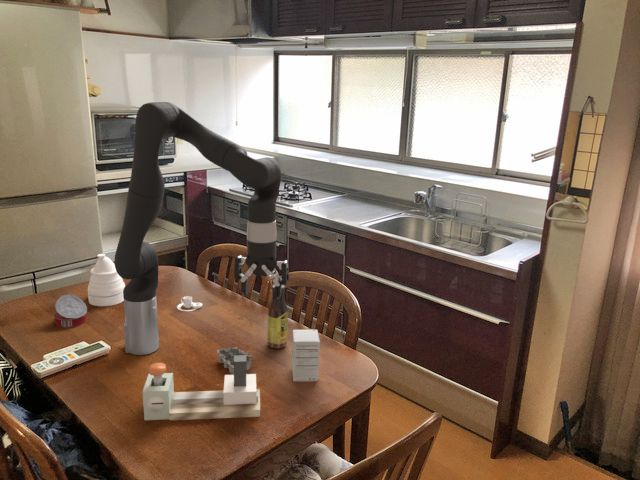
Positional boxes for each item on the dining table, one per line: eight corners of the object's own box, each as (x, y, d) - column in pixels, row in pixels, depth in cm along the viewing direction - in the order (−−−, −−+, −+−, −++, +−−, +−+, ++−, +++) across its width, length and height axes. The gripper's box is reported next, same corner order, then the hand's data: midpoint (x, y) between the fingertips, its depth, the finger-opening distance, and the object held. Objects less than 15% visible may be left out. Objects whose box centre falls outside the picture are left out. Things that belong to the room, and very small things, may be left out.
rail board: (169, 420, 127) (168, 408, 126) (174, 398, 135) (174, 387, 134) (260, 416, 130) (260, 404, 129) (259, 395, 138) (259, 384, 137)
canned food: (83, 327, 181) (95, 301, 181) (80, 337, 172) (93, 310, 172) (49, 315, 177) (62, 289, 177) (44, 325, 168) (58, 298, 168)
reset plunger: (148, 394, 127) (147, 371, 125) (151, 384, 131) (150, 362, 129) (165, 393, 127) (164, 371, 126) (168, 384, 131) (167, 362, 129)
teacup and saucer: (205, 307, 190) (205, 297, 189) (189, 315, 184) (189, 304, 183) (188, 301, 195) (188, 291, 194) (172, 308, 188) (171, 298, 187)
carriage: (223, 408, 128) (222, 367, 125) (225, 390, 136) (224, 350, 133) (256, 407, 129) (256, 366, 126) (255, 388, 137) (256, 350, 134)
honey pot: (118, 307, 187) (114, 259, 182) (82, 305, 187) (77, 258, 182) (131, 293, 199) (127, 248, 194) (97, 291, 199) (93, 246, 194)
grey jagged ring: (254, 369, 151) (254, 357, 150) (230, 376, 147) (230, 364, 146) (238, 353, 159) (238, 341, 158) (215, 359, 155) (215, 347, 154)
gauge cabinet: (144, 421, 126) (142, 393, 124) (150, 400, 134) (148, 373, 132) (169, 420, 127) (168, 392, 125) (174, 400, 135) (173, 372, 133)
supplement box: (291, 367, 152) (292, 328, 149) (316, 367, 153) (318, 328, 149) (292, 382, 145) (293, 341, 142) (318, 381, 146) (320, 341, 142)
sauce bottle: (284, 350, 162) (285, 291, 156) (264, 348, 163) (265, 289, 157) (289, 341, 168) (290, 283, 162) (270, 338, 169) (271, 281, 163)
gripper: (229, 238, 130) (230, 298, 135) (284, 244, 127) (283, 305, 132) (240, 230, 137) (241, 287, 142) (292, 236, 134) (291, 294, 139)
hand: (261, 296), depth 137 cm, fingers open, 8 cm apart
